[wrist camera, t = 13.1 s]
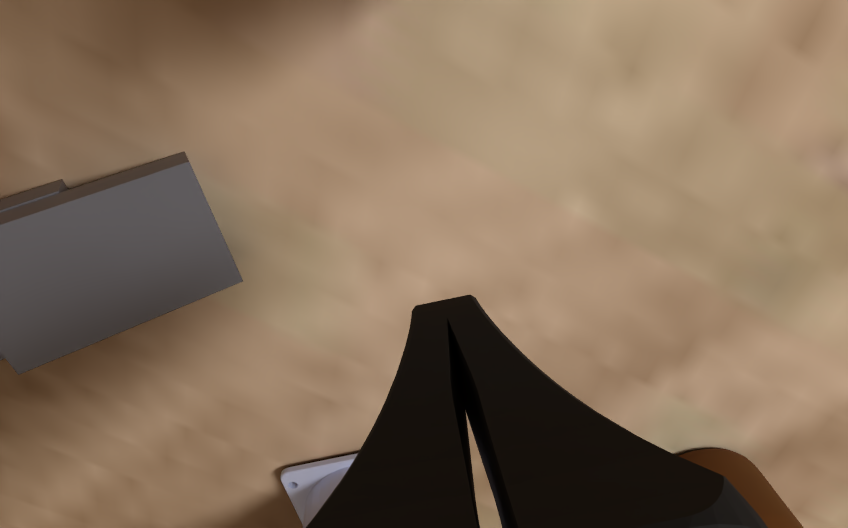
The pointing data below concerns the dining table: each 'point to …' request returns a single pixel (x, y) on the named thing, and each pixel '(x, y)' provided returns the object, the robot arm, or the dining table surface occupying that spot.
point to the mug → (747, 484)
